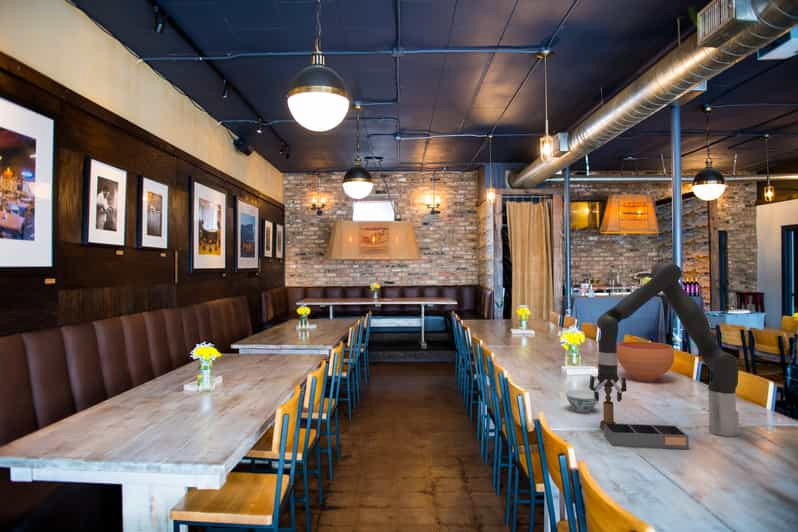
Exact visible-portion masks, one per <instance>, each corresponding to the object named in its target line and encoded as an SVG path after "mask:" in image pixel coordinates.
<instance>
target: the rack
mask: <svg viewBox="0 0 798 532" xmlns="http://www.w3.org/2000/svg"><path fill="white" fill-rule="evenodd" d="M615 423H616V422H615ZM615 423H604V430H603V436H604V437H605V439H606V440H607V441H608V443H609V444H610V445H611V446H612V447H628V448H629V447H632V448H652V449H673V450H675V449H678V450H689V449H690V448H689V447H690V440H689V435H688V434H687V433H685V432H684V431H683V430H682V429H681V428H679V426H677V425H669V424H668V425H667V424H643V423H642V424H639V423H638V424H637V423H617V424H615Z"/></svg>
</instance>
